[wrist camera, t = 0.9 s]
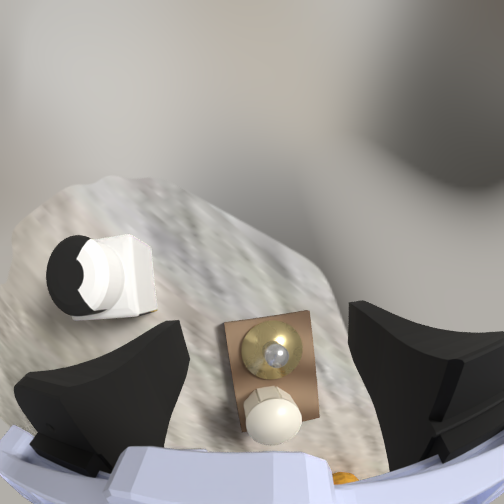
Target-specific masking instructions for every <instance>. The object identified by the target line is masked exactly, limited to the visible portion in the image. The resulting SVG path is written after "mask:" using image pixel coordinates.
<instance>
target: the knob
mask: <svg viewBox="0 0 504 504" xmlns="http://www.w3.org/2000/svg"><path fill="white" fill-rule="evenodd" d="M302 352H303V345H302V341H301V338H300V336H299V334H298V332H297V331H296V330H295V329H294V328H293V327H292V326H290V325H289V324H287V323H285V322H282V321H277V320H269V321H264V322H261V323H259V324H257V325H255V326H254V327H253V328H251V329H250V330H249V332H248V333H247V334H246V336H245V338H244V340H243V342H242V347H241V354H242V359H243V362H244V364H245V366H246V367H247V369H248V370H249V371H250V372H251V373H253V374H254V375H256V376H257V377H260V378H263V379H278V378H282V377H284V376H286V375H288V374H289V373H291V372H292V371H293V370H294V369H295V368H296V367H297V365H298V364H299V362H300V360H301V357H302Z"/></svg>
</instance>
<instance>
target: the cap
mask: <svg viewBox="0 0 504 504" xmlns="http://www.w3.org/2000/svg"><path fill="white" fill-rule="evenodd" d="M244 410H245V416H246V428H247V432H248V434H249V435H250V437H251V438H252V439H253V440H255V441H256V442H258V443H260V444H264V445H278V444H282V443H285V442H287V441H289V440H290V439H292V438H293V437H294V436H295V435H296V434H297V433H298V431H299V429H300V427H301V424H302V416H301V413H300V411H299V408H298V407H297V405H296V403H295V402H294V400H293V399H292V397H291V396H290V394H288V393H286V392H285V391H283V390H282V389H280V388H279V387H277V386H276V387H275V386H270V387H264V388H257V391H256V390H254V391H253V392H252V393H251V395H250V396H249V397H248V398H247V399H246V400H245V402H244Z"/></svg>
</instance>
